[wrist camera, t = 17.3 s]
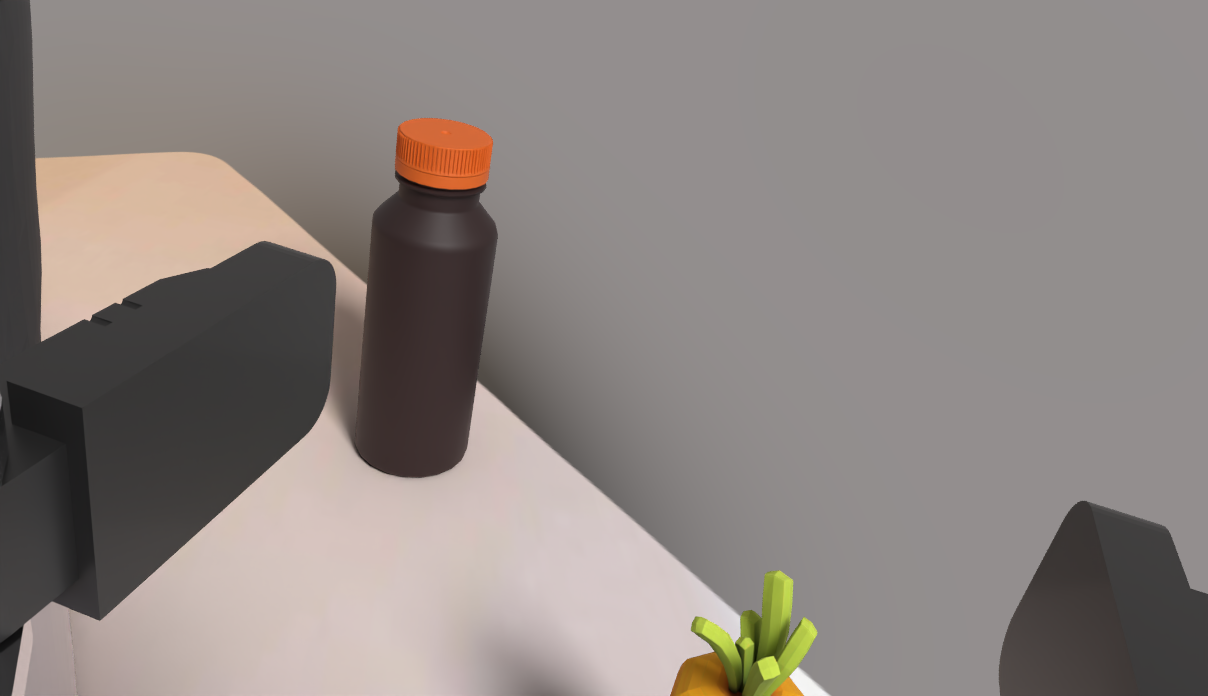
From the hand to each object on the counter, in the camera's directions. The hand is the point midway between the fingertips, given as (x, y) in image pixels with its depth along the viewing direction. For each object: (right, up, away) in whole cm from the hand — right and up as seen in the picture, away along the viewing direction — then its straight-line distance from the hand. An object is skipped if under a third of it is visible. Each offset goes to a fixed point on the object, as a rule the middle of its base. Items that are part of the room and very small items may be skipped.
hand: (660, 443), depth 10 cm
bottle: (-13, -5, +50) cm, 52 cm away
